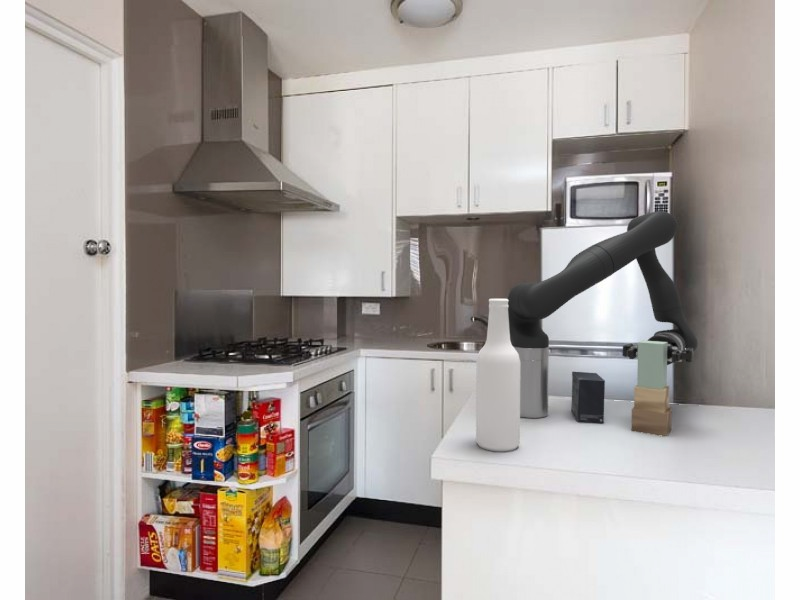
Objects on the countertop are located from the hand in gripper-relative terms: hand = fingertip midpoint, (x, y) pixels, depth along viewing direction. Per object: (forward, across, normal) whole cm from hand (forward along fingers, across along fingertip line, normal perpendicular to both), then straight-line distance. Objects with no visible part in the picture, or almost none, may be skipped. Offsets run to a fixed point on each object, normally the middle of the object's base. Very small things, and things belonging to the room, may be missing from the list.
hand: (651, 356), depth 107 cm
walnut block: (-2, 0, +17) cm, 17 cm away
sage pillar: (-2, 0, +7) cm, 7 cm away
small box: (-4, -15, +17) cm, 23 cm away
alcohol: (+28, -23, +17) cm, 41 cm away
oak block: (-2, 0, +12) cm, 12 cm away
